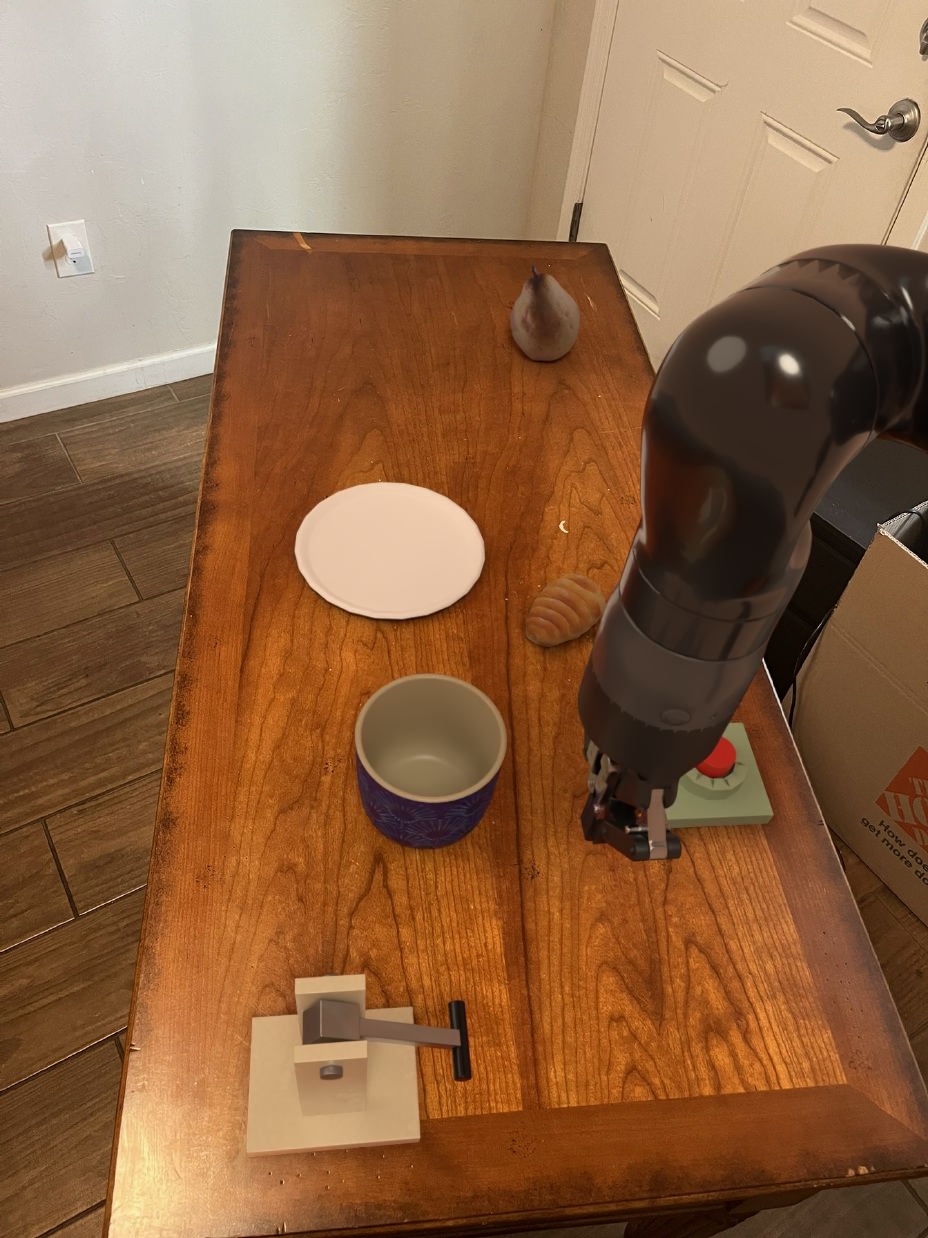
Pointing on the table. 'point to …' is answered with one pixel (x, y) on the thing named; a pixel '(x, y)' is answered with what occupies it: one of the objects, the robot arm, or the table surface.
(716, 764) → the button
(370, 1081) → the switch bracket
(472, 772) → the planter
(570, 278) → the table surface
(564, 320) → the fruit
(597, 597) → the pastry
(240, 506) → the table surface
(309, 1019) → the lever
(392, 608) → the plate
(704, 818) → the button block
